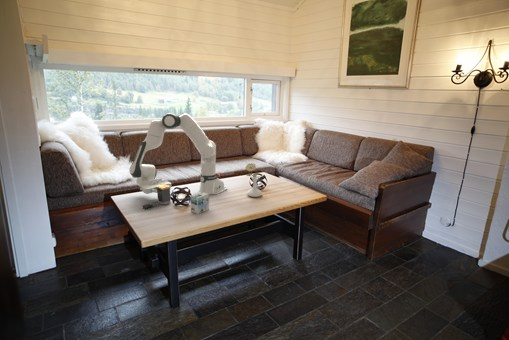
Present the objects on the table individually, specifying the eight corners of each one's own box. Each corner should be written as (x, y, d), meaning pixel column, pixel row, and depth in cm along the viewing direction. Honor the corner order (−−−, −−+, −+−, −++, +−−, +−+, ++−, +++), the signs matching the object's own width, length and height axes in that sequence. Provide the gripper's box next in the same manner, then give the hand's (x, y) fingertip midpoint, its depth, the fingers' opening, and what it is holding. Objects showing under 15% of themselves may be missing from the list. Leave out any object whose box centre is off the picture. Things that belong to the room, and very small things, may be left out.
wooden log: (165, 198, 211) (164, 184, 208) (170, 200, 207) (169, 186, 205) (157, 200, 206) (157, 186, 204) (162, 202, 203) (162, 188, 200)
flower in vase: (262, 193, 232) (263, 161, 226) (261, 198, 221) (262, 165, 215) (245, 192, 233) (246, 160, 227) (243, 197, 222) (244, 164, 216)
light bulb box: (198, 214, 191) (197, 198, 188) (190, 211, 195) (189, 195, 192) (209, 209, 200) (209, 193, 197) (202, 206, 203) (201, 191, 200)
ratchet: (166, 200, 213) (165, 190, 211) (172, 203, 208) (172, 193, 206) (140, 207, 199) (140, 197, 197) (147, 210, 194) (146, 200, 192)
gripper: (138, 184, 205) (149, 189, 196) (164, 178, 220) (175, 182, 211) (138, 193, 207) (149, 198, 198) (164, 186, 222) (176, 190, 213)
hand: (163, 189), depth 205 cm, fingers open, 8 cm apart
